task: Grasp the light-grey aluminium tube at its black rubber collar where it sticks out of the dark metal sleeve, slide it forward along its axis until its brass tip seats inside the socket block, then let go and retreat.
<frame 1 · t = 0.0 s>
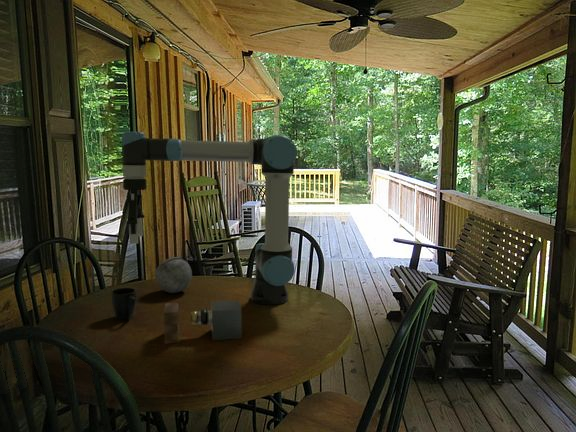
hand: (136, 239, 154), 28 cm above the table, fingers open, 13 cm apart
mug: (126, 319, 156), on the table
sleeve: (226, 333, 144), on the table
tube: (213, 316, 143), point 6 cm above the table, slide at 0.0 cm
decorative orb: (174, 292, 188), on the table
socket: (171, 337, 141), on the table
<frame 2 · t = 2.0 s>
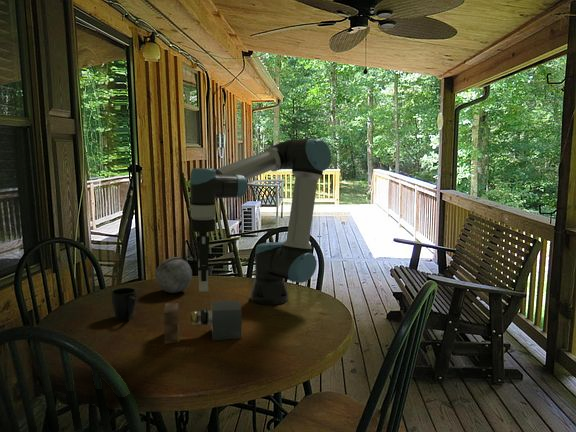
hand: (203, 285, 141), 17 cm above the table, fingers open, 13 cm apart
nothing on the table moved.
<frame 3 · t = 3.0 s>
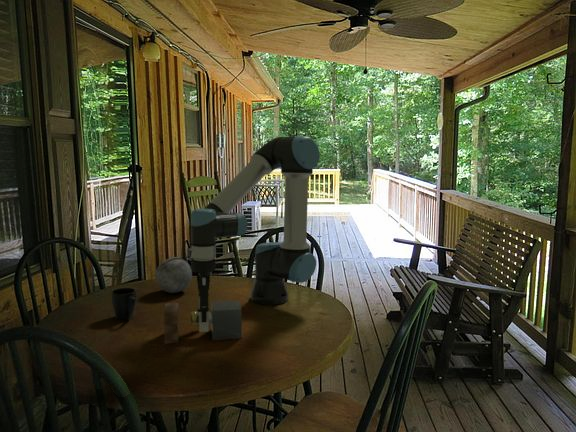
hand: (203, 323, 142), 4 cm above the table, fingers open, 13 cm apart
nothing on the table moved.
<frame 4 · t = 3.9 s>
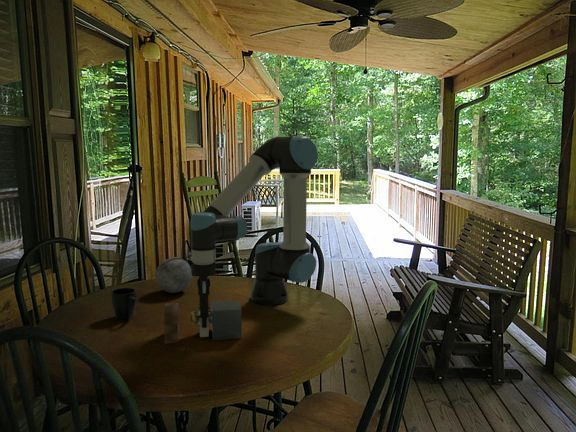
hand: (204, 332, 143), 1 cm above the table, fingers closed on tube, 5 cm apart
tube: (213, 316, 143), point 6 cm above the table, slide at 0.0 cm, touching gripper
everything else where it was.
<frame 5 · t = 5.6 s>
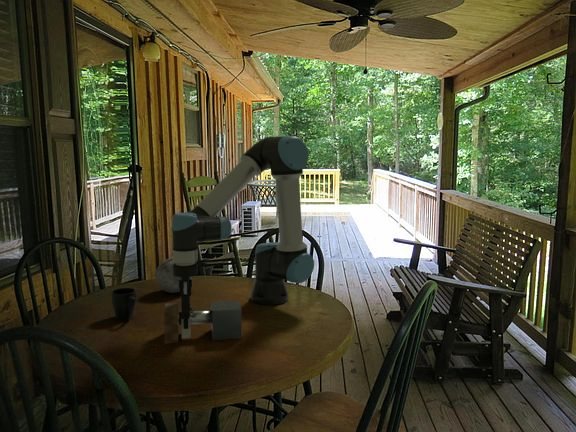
hand: (186, 334, 142), 1 cm above the table, fingers closed on tube, 5 cm apart
tube: (195, 317, 142), point 6 cm above the table, slide at 5.6 cm, touching gripper
everything else where it was.
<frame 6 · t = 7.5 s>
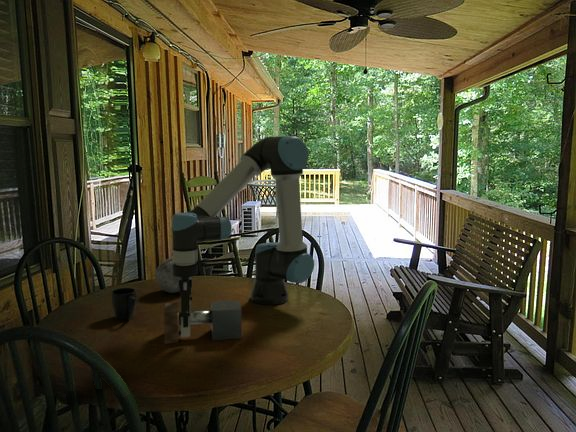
hand: (186, 328, 141), 3 cm above the table, fingers open, 13 cm apart
tube: (195, 317, 142), point 6 cm above the table, slide at 5.6 cm
everything else where it was.
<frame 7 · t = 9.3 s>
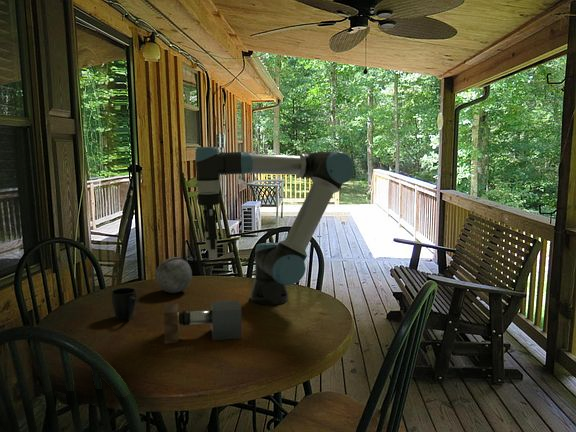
hand: (211, 254, 154), 23 cm above the table, fingers open, 13 cm apart
nothing on the table moved.
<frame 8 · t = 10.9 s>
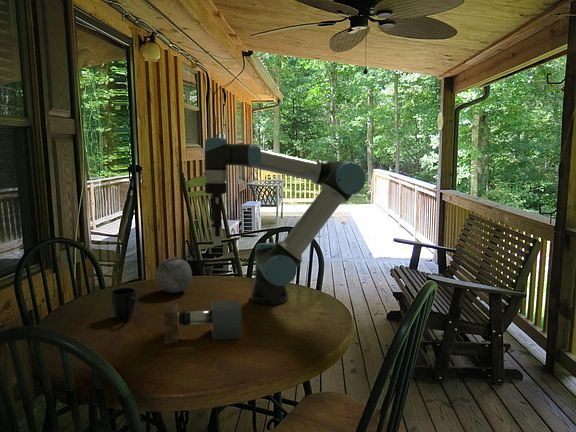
hand: (216, 241, 159), 27 cm above the table, fingers open, 13 cm apart
nothing on the table moved.
at the end: tube slide at 5.6 cm; the gripper is holding nothing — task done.
